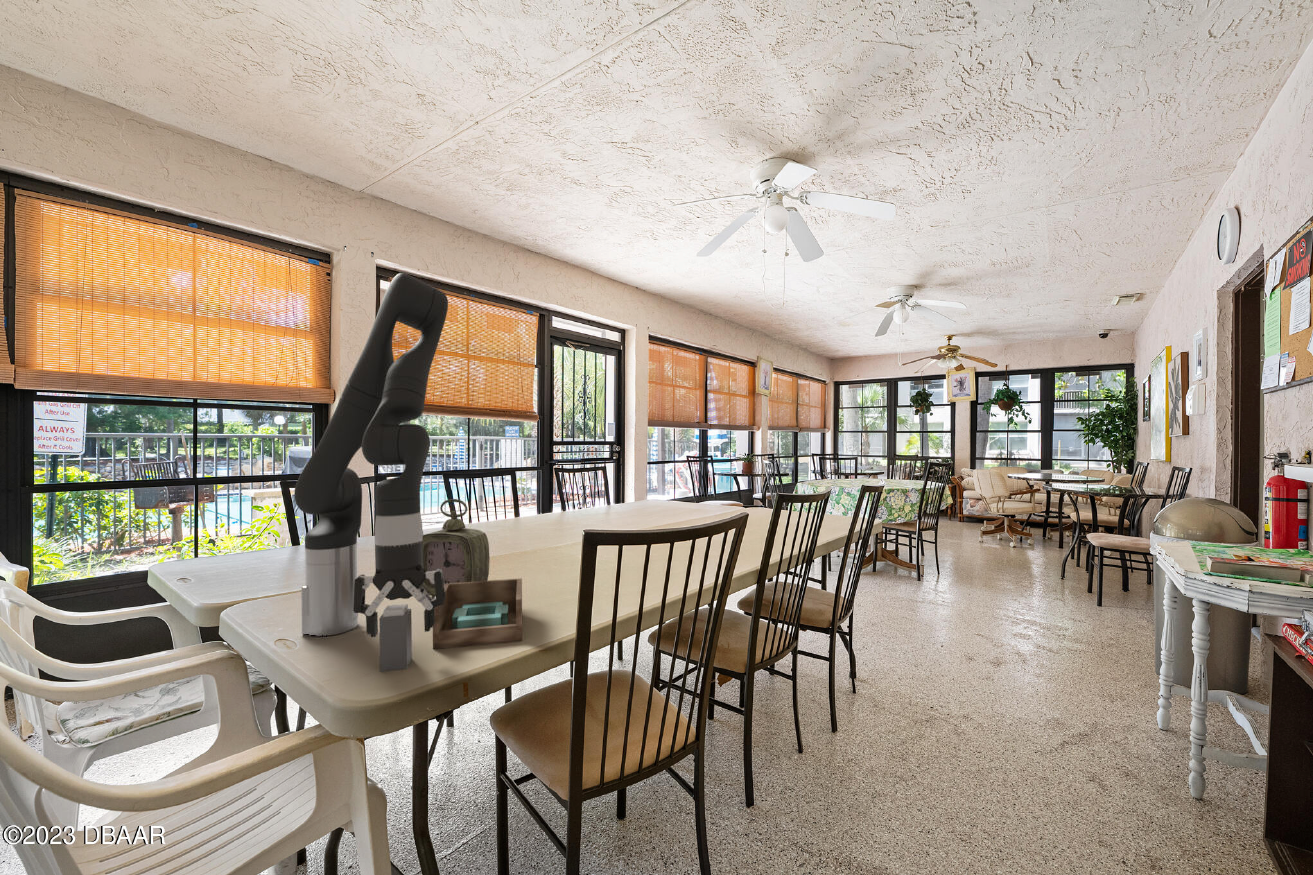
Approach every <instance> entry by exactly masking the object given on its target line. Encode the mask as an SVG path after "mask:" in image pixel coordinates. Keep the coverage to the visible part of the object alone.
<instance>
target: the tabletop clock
mask: <svg viewBox="0 0 1313 875" xmlns="http://www.w3.org/2000/svg"><path fill="white" fill-rule="evenodd" d="M448 503H459V504H462V505H463V507H464V509H465V510H464V512H462V513H459V514H458V513H457V511H455V510H453V511H451V513H448V512H445V511H444V510H443V508H444V506H445V504H448ZM440 504H441V505H440V506H439V509H440V512H441V513H442V515H443V516H445V517H448V519H447V520H445V522H444V523H443V524H442V529H440V530H437V531H434V532H433V531H432V532H429V533H426V534H423V567H424V569H425V571H426V572H429V571H436V570H437V569H442V570H443V578H444V584H447V583H461V582H476V581H489V574H490V561H491V560H490V545H489V539H488V536H487V533H485V532H484V531H482V530H480V529H475V528H466V525H465V522H464V521H463V520H462V519H461V517H463V516H465V515H466V514H467V512H468V506H467V504H466V502H464V501H463V500H461V499H457V498H449V499H446V500H444V501H443V502H442V503H440ZM449 518H450V519H449ZM421 586H422V587H423V588H424V589H425V590H426V591H427V593H428V595H429V596H430V597H431V598H432V599H434V598H436V593H435V584H432V583H431V582H430V580H429V579H428V578H426V579H425V581H424V582H423V583H422V585H421Z"/></svg>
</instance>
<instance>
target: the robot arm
mask: <svg viewBox="0 0 1313 875" xmlns="http://www.w3.org/2000/svg"><path fill="white" fill-rule="evenodd" d="M448 299H449V298H448V297H447V294H446V293H444V292H443V291H441V290H440V289H438V288H436V287H434V286H432V285H430V284H428V283H426V282H424V281H422V280H420V279H417V278H416V277H414V276H412V275H410V274H408V273H404V272H400V273H397V274H396V275H395V276H394V277H393V278H392V279H391V281H390V283H389V284H388V286H387V288H386V291H385V293H384V296H383V298H382V301H381V304H380V306H379V308H378V311H377V313H376V314H377V315H376V317H375V320H374V322H373V325H372V328H371V330H370V332H369V334H368V338H367V340H366V343H365V345H364V347H363V349H362V351H361V354H360V356H359V358H358V360H357V362H356V364H355V365H354V367H353V369H352V372H351V374H350V376H349V377H348V380H347V383H346V384H345V387H344V388H343V390H342V393H341V395H340V398H339V400H338V402H337V406H336V408H335V410H334V411H333V414H332V416H331V418H330V420H329V421H328V422H329V423H328V424H327V426H326V429H325V431H324V433H323V435H322V437H321V439H320V441H319V443H318V445H317V446H316V448H315V450H314V451H313V453H312V455H311V457H310V458H309V460H308V461H307V463H306V464H305V466H304V468H303V469H302V471H301V473H299V477H298V478H297V480H296V484H295V487H294V495H293V496H294V500H295V504H296V507H298V509H299V510H300V511H301V512H303V513H305V514H308V515H315V516H316V515H320V516H319V520H318V521H317V523H316V525H315V526H314V527H312V528H311V529H310V530H309V531H307V533H306V534H305V537H304V562H305V563H304V569H305V570H304V574H305V577H304V579H305V580H304V583H305V584H304V585H303V586H302V587H301V589H300V591H301V592H300V594H301V595H300V596H301V635H302V634H309V635H308V636H311V635H316V636H315V637H325V636H326V635H327V636H333V635H334V636H335V635H339V634H343V633H346V632H349V631H351V630H353V629H355V628H357V626H358V625H359V624H358V622H359V618H358V617H359V614H363V615H364V616H365V623H366V624H365V626H366V628H365V630H366V633H367V635H370V638H376V637H377V636H378V633H379V623H378V622H379V621H378V616H379V615H378V614H379V613H378V611H377V609H378V608H379V607H380V605H381V604H382V602H383V601H384V599H387V600H389V601H396V600H398V599H403V600H406V599H407V600H408V599H410V598H412V597H413V598H414V599H415V600H416V601H417V602H418V603H419V604H421V605H422V606H423V607H424V608H425V609H424V612H423V615H424V616H423V618H424V620H423V621H424V625H423V626H424V633H427V632H430V631H431V629H433V625H434V608H435V607H437V606H441V605H443V603H444V600H445V589H444V578H443V570H442V569H437V570H436V571H429V572H426V571H425V569H424V567H423V535H424V530H423V520H422V516H421V514H422V513H421V484H422V479H423V478H422V477H423V474H424V468H425V465H426V463H427V462H426V461H427V459H428V456H429V451H430V447H431V439H430V435H429V433H428V431H427V430H426V429H425V428H424V427H423V426H422V425H421V424H415V423H408V422H411V421H414V420H417V419H419V418H420V417H421V416H422V414H423V413H424V409H425V402H426V395H427V389H428V388H427V387H428V382H429V381H428V380H429V375H430V371H431V368H432V365H433V361H434V358H435V355H436V352H437V349H438V346H439V343H440V339H441V336H442V332H443V329H444V326H445V323H446V319H447V315H448V309H449V300H448ZM397 322H399V323H401V324H403V325H405V326H407V327H409V328H412V329H414V330H417V331H419V332H420V337H419V339H418V341H417V342H416V343H415V344H414V345H413V346H412V347H411V348H410V349H409V350H407V351H406V352H404V353H402V354H401V355H400V356H399V357H398V358H397V359H396V360H395V359H394V358H395V357H394V355H393V354H394V353H393V351H394V350H393V336H394V331H395V330H394V329H395V326H396V324H397ZM404 423H405V424H404ZM406 423H407V424H406ZM360 449H361V452H362V455H363V457H364V459H365V460H366V462H368V463H369V464H371V465H373V466H403V465H405V466H404V470H403V472H402V473H401V474H400V476H395V477H393V478H388V479H387V478H386V479H384V480H381V481H379V482H377V484H375V485H376V486H375V492H374V494H375V496H374V497H375V521H374V558H375V562H374V563H375V572H374V575H369V576H368V575H365V574H360V575H358V541H357V540H358V534H359V532H360V529H361V526H362V515H363V514H362V513H363V512H362V510H363V488H362V487H363V486H362V483H361V482H362V481H361V479H360V477H359V475H358V474H357V473H356V471H354V470H353V469H352V468H349V465H350V463H351V461H352V459H353V458H354V456H355V455H356V454H357V452H358V451H359V450H360ZM426 578H428V579H429V580H430V582H431V583H432V584H435V593H436V596H435V598H434V599H432V598H431V597H432V596H430V595H428V593H427V591H426V590H425V589H424V588H423V587H422V586H421V585H422V583H423V582H424V581H425V579H426ZM371 584H373V585H374V586H375V588H376V589H377V590H378V591H379V593H378V594H377V596H375V598H374V599H373V601H371V603H370V604H369V603H366V591H367V589H369V587H370V586H371ZM322 635H323V636H322Z"/></svg>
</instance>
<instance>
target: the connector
mask: <svg viewBox="0 0 1313 875" xmlns="http://www.w3.org/2000/svg"><path fill="white" fill-rule="evenodd" d="M412 621H413V620H412V608H409V606H408V603H403V604H401V603H400V604H389V605H387V606H386V607H385V608H384V610H383V613H382V614H381V616H380V617H379V621H378V622H379V623H378V628H379V672H382V671H383V672H391V671H401V670H407V669H408V668H409V666H410V664H411V662H412V660H413V645H412V644H413V640H412V639H413V635H412V633H413V632H412V630H413V629H412V623H413V622H412ZM383 672H382V673H383Z"/></svg>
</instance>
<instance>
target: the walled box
mask: <svg viewBox="0 0 1313 875" xmlns="http://www.w3.org/2000/svg"><path fill="white" fill-rule="evenodd" d="M444 589H445V600H444V603H443V605H441V606H437V607H435V608H434V625H433V627H432V649H433V650H439V649H448V648H449V649H450V648H459V647H468V646H469V647H471V646H472V647H473V646H479V645H480V646H481V644H483V645H491V644H501V643H504V644H505V643H512V642H521V641H522V642H523V578H522V577H521V578H510V579H509V578H508V579H492V580H491V579H490V580H487V581H476V582H461V583H447V584H444Z"/></svg>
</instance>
